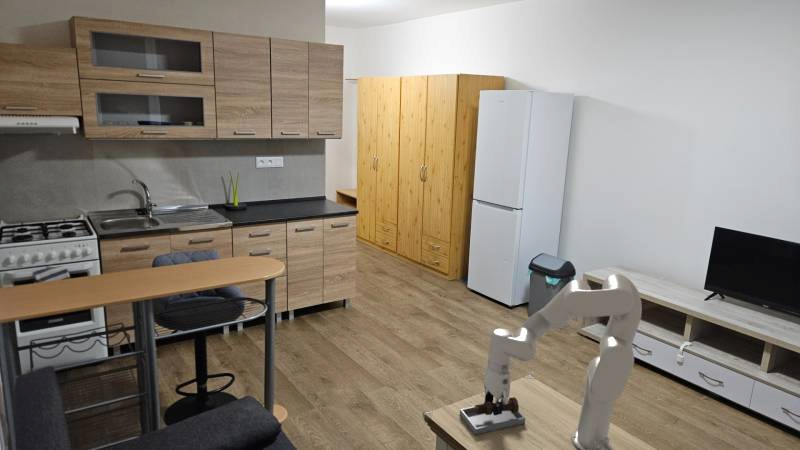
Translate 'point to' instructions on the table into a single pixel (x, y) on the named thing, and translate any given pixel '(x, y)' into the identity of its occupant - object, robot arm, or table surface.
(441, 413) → the table surface
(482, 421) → the parts tray
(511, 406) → the bolt
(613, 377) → the robot arm
